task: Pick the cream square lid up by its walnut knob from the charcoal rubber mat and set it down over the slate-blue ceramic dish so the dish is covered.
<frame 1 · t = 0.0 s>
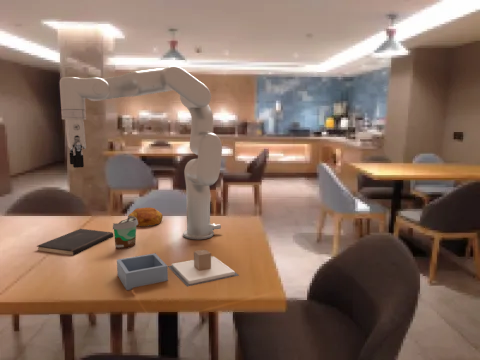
hand: (76, 165, 132), 31 cm above the table, tool pointing down, fingers open, 9 cm apart
croissant: (145, 223, 177), on the table
hardcover book: (77, 245, 148), on the table
lid: (202, 270, 121), resting on mat
food container: (129, 246, 145), on the table
mat: (202, 272, 121), on the table
dish: (142, 278, 116), on the table
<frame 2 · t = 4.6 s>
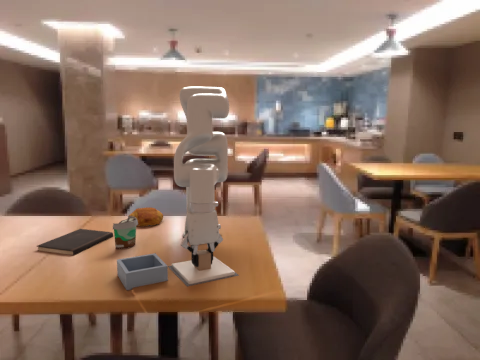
hand: (202, 263, 121), 3 cm above the table, tool pointing down, fingers closed on lid, 4 cm apart
lid: (202, 270, 121), resting on mat, touching gripper
everything else where it was.
when the fingers open (9 cm above the table, at t = 9.5 s): lid drops 1 cm, resting on dish.
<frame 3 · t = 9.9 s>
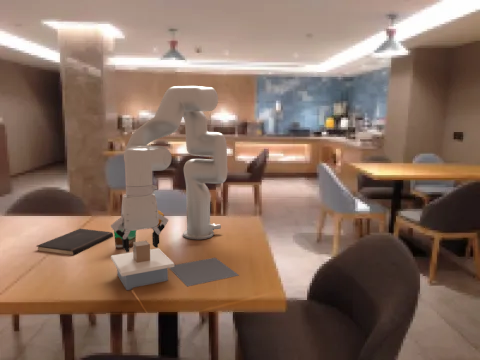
hand: (141, 248, 115), 9 cm above the table, tool pointing down, fingers open, 8 cm apart
lid: (141, 262, 115), point 5 cm above the table, touching dish
everything else where it was.
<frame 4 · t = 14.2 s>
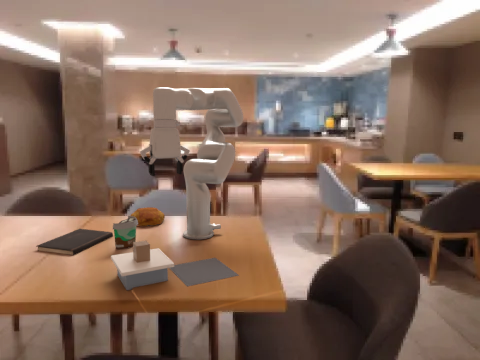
hand: (166, 174, 134), 28 cm above the table, tool pointing down, fingers open, 9 cm apart
nothing on the table moved.
at the end: lid 0.1 cm off-centre on the dish, point 5.0 cm above the dish's base; lid tilted 0°; the gripper is holding nothing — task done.
